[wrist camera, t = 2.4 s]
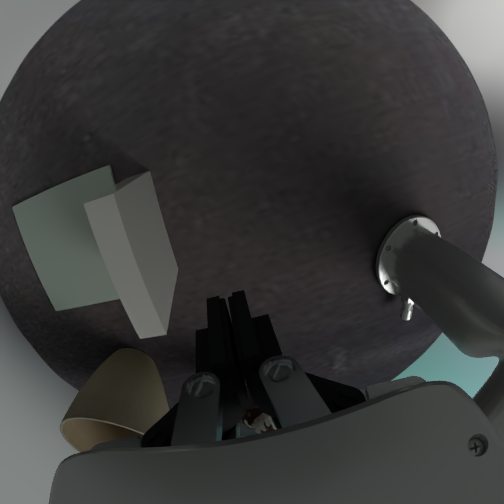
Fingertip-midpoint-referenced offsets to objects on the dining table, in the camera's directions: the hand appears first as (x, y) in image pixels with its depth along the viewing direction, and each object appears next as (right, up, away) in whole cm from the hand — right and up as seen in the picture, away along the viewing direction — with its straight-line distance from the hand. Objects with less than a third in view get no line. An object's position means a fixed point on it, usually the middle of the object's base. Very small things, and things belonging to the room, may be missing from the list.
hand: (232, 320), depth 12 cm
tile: (-10, +6, +18) cm, 21 cm away
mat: (-21, +4, +17) cm, 27 cm away
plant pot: (-17, -14, +26) cm, 34 cm away
